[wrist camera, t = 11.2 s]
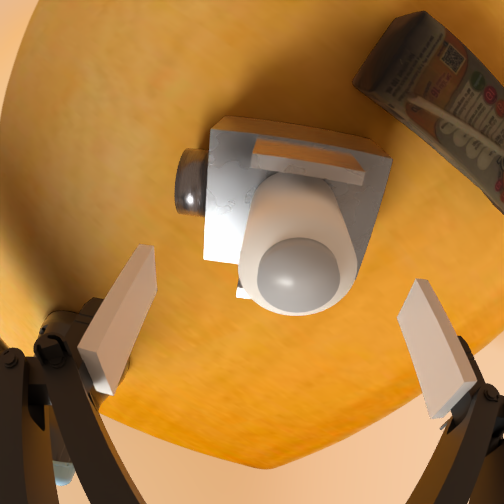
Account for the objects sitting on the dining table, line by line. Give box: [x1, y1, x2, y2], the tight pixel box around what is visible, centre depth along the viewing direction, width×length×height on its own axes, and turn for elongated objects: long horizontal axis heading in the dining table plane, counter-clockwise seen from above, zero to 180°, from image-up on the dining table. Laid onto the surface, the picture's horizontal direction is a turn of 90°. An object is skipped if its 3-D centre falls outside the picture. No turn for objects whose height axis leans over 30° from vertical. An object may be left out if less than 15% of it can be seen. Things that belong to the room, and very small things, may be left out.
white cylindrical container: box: [238, 172, 357, 316], centre depth 18 cm, size 6×6×8 cm
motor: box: [175, 116, 393, 299], centre depth 23 cm, size 14×10×10 cm
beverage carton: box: [352, 11, 504, 215], centre depth 19 cm, size 8×19×7 cm, turn 62°
